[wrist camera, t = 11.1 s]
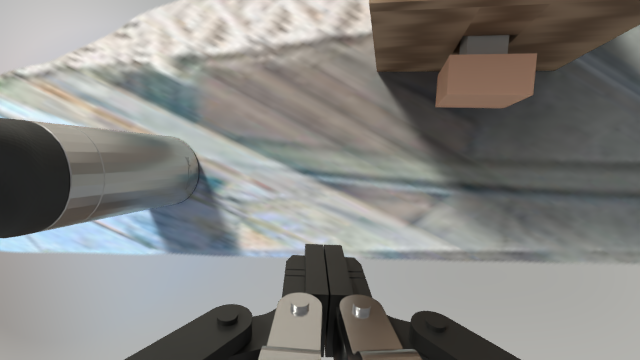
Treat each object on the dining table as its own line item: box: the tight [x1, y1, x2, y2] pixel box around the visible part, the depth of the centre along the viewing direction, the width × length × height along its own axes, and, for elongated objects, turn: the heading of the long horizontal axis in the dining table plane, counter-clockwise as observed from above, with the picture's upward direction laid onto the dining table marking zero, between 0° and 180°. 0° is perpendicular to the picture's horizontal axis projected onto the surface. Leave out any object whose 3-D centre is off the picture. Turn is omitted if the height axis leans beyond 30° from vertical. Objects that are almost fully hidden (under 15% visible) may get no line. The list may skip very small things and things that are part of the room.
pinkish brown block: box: [435, 35, 537, 108], centre depth 26 cm, size 6×9×6 cm, turn 175°
